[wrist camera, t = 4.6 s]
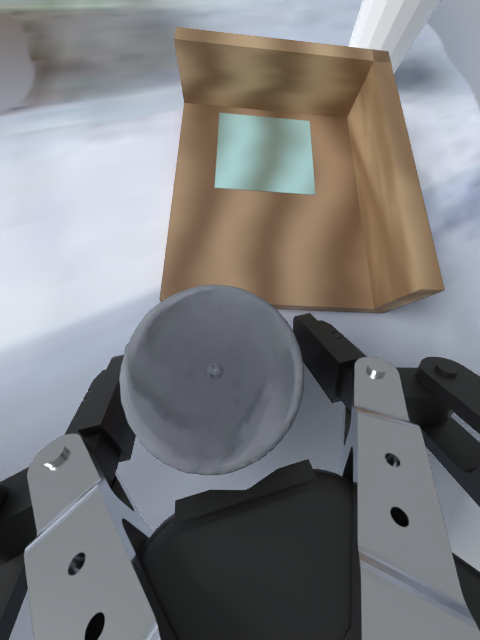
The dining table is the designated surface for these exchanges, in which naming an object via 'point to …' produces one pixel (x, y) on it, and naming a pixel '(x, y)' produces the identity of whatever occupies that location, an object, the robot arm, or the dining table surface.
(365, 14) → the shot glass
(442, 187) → the dining table surface
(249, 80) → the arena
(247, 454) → the supplement bottle
